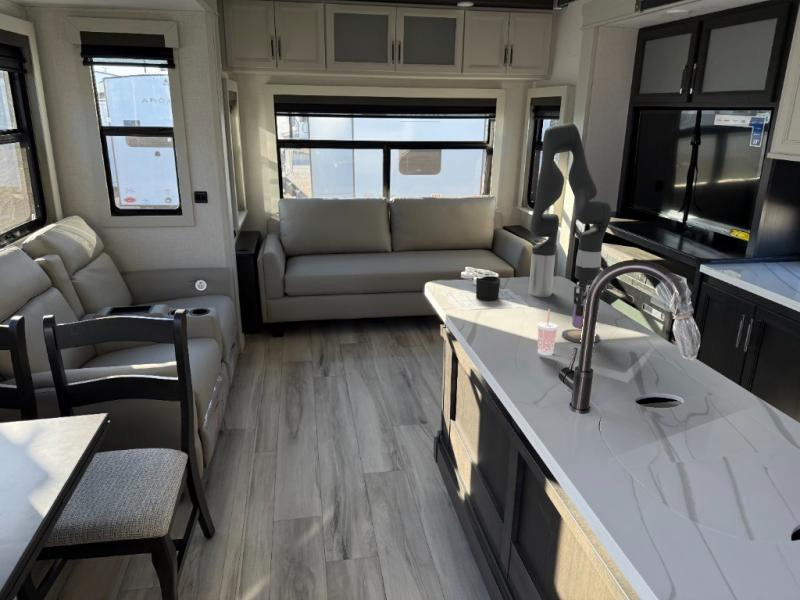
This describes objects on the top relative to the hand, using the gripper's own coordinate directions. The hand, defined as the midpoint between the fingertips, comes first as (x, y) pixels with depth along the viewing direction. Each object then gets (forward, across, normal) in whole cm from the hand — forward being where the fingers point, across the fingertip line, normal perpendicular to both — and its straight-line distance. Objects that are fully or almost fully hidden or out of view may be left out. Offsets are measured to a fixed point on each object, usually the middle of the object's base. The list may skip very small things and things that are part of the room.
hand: (582, 313), depth 184 cm
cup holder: (+9, -35, -60) cm, 70 cm away
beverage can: (+5, 0, 0) cm, 5 cm away
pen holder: (+9, -16, -45) cm, 48 cm away
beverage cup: (+8, +21, -3) cm, 23 cm away
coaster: (+8, 0, 0) cm, 8 cm away
